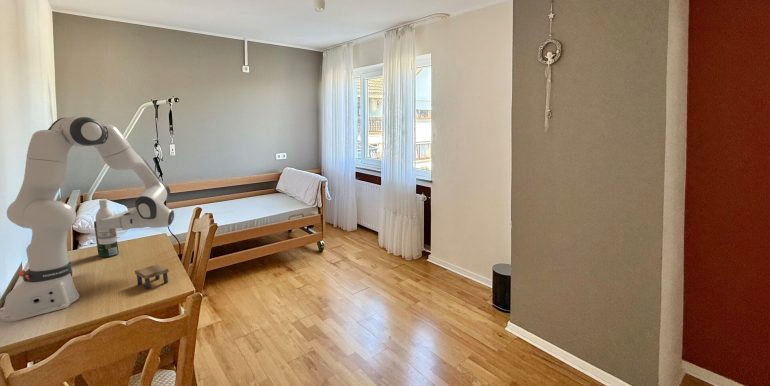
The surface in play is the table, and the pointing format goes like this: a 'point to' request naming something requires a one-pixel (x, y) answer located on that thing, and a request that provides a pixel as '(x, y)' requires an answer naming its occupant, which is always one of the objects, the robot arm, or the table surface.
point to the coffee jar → (106, 247)
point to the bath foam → (105, 233)
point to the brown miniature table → (151, 274)
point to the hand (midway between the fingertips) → (103, 218)
